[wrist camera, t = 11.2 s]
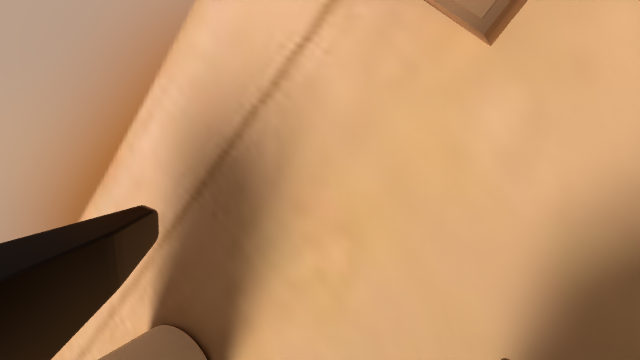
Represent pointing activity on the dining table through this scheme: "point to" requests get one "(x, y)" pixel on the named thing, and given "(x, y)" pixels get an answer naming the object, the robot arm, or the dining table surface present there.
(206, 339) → the dining table surface
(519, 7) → the walnut block
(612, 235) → the dining table surface
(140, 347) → the travel mug
